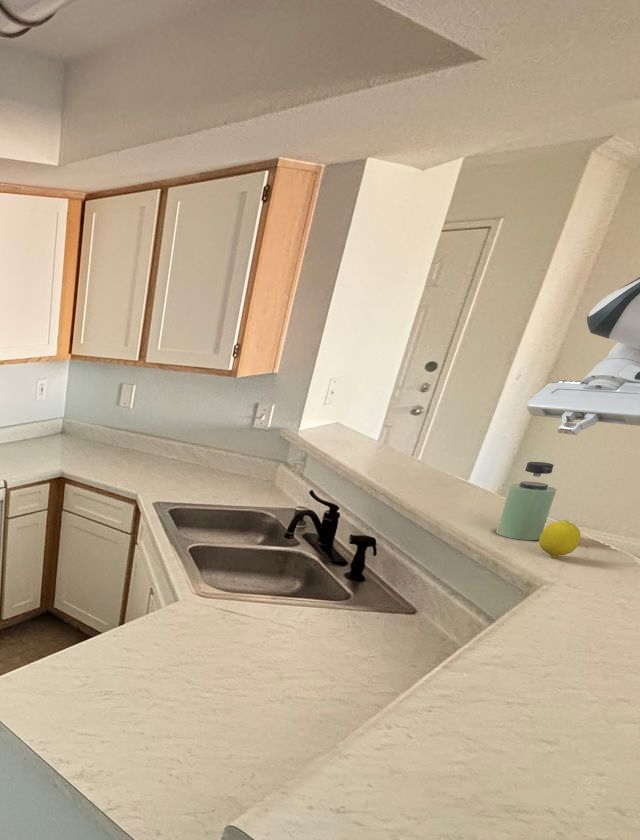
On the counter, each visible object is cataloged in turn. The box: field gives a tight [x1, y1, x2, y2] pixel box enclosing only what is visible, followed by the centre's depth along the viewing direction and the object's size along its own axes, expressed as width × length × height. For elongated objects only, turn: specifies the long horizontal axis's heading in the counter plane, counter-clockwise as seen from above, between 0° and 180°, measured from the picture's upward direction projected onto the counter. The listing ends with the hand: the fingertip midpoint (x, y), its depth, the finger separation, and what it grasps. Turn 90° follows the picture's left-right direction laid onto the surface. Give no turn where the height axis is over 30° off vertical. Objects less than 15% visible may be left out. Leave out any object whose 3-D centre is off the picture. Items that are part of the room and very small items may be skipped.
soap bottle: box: [495, 480, 557, 541], centre depth 130 cm, size 7×7×12 cm
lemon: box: [538, 519, 581, 558], centre depth 118 cm, size 6×6×8 cm
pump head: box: [524, 461, 554, 478], centre depth 126 cm, size 4×7×3 cm, turn 153°
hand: (566, 432), depth 126 cm, fingers closed
